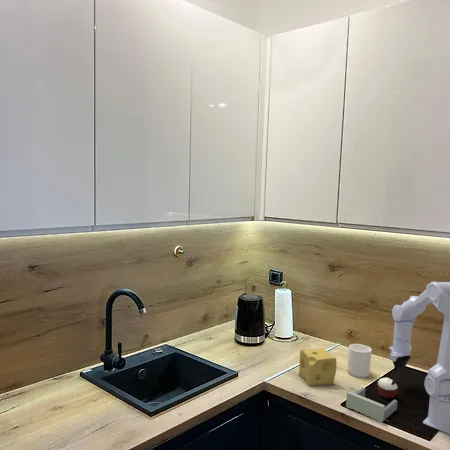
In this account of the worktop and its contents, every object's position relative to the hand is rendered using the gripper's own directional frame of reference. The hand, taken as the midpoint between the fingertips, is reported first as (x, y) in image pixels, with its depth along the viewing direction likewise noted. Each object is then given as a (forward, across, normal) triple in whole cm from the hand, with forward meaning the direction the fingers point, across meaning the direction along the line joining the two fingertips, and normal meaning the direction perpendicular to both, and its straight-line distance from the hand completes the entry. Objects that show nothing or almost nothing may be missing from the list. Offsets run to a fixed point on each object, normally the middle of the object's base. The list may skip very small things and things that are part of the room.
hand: (399, 374), depth 155 cm
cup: (+5, -2, -17) cm, 18 cm away
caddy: (+5, +22, 0) cm, 22 cm away
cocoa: (+5, +10, 0) cm, 11 cm away
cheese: (+5, +16, -24) cm, 30 cm away
